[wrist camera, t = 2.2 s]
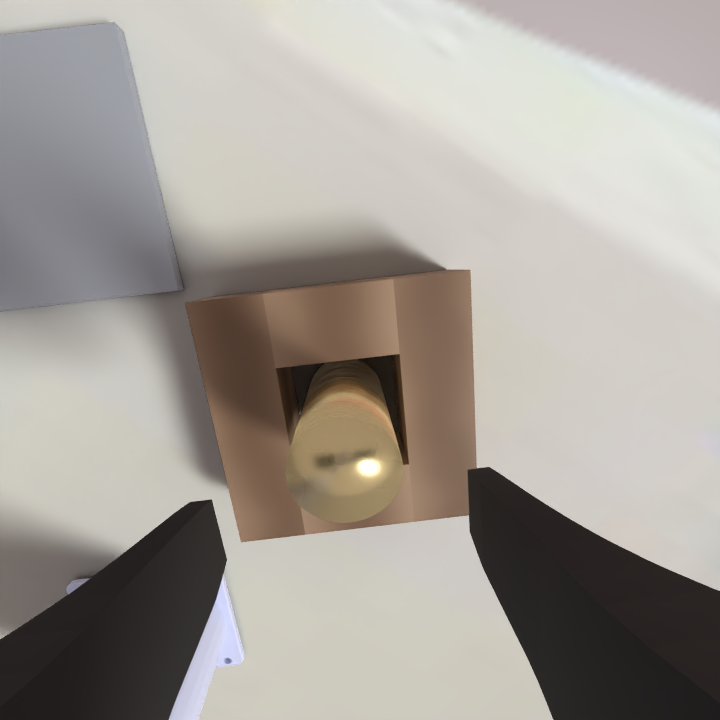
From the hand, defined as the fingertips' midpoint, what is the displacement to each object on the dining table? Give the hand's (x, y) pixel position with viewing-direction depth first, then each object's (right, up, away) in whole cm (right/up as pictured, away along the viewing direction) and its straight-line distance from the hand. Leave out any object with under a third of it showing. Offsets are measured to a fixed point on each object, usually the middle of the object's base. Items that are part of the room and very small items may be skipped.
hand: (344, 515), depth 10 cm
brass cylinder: (0, +2, +10) cm, 10 cm away
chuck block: (0, +2, +10) cm, 10 cm away
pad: (-15, +13, +7) cm, 20 cm away
